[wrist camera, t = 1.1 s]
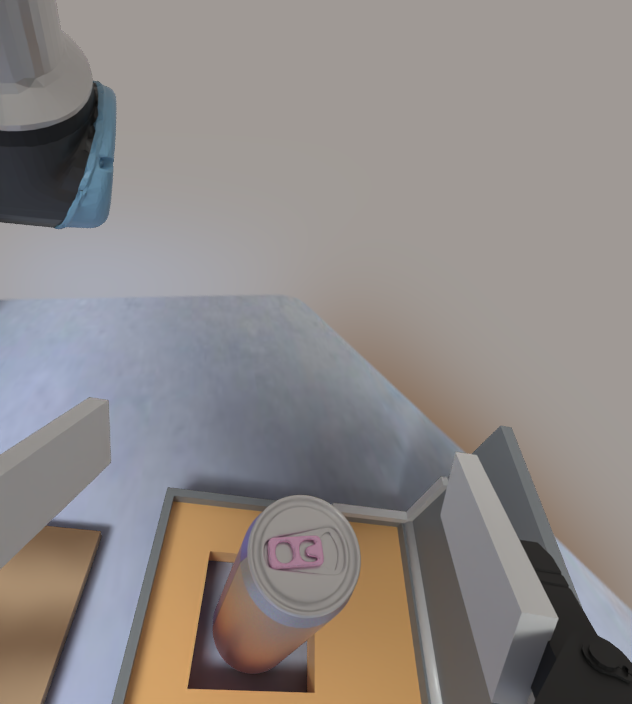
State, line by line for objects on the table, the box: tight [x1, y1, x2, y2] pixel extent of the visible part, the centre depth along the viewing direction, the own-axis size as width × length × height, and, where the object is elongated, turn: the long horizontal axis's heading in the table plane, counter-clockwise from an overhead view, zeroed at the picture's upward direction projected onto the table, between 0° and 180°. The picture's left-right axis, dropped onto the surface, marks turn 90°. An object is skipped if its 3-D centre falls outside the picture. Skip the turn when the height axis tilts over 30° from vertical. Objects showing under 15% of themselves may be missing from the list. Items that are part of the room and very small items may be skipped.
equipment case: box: [112, 426, 582, 704], centre depth 25 cm, size 16×21×17 cm
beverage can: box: [213, 495, 361, 674], centre depth 25 cm, size 6×6×15 cm
